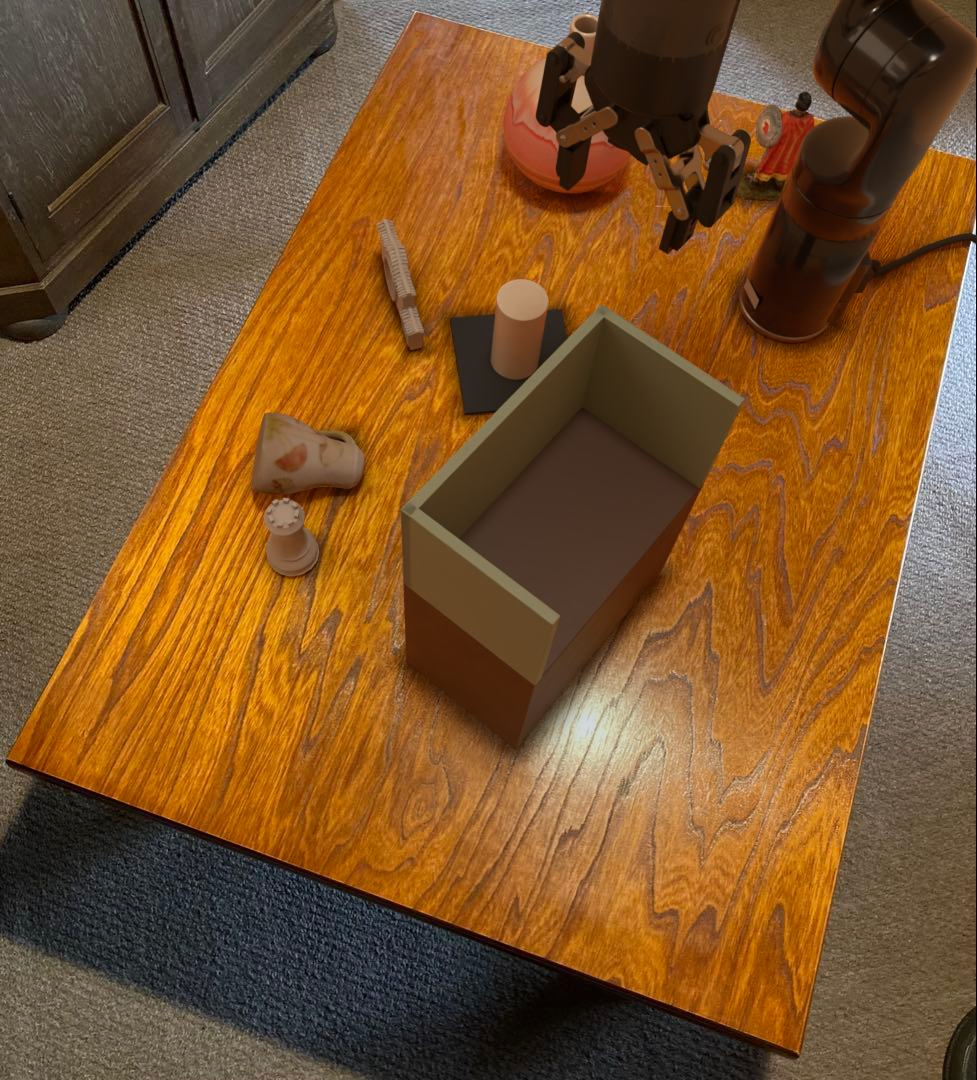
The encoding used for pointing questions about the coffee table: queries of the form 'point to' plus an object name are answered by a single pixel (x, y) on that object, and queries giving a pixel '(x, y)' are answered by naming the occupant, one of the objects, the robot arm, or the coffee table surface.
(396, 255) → the garden wall model
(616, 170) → the vase
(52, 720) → the coffee table surface
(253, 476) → the mug
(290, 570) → the rook chess piece
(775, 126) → the figurine
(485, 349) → the mat
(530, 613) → the bay
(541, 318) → the beige cylinder
